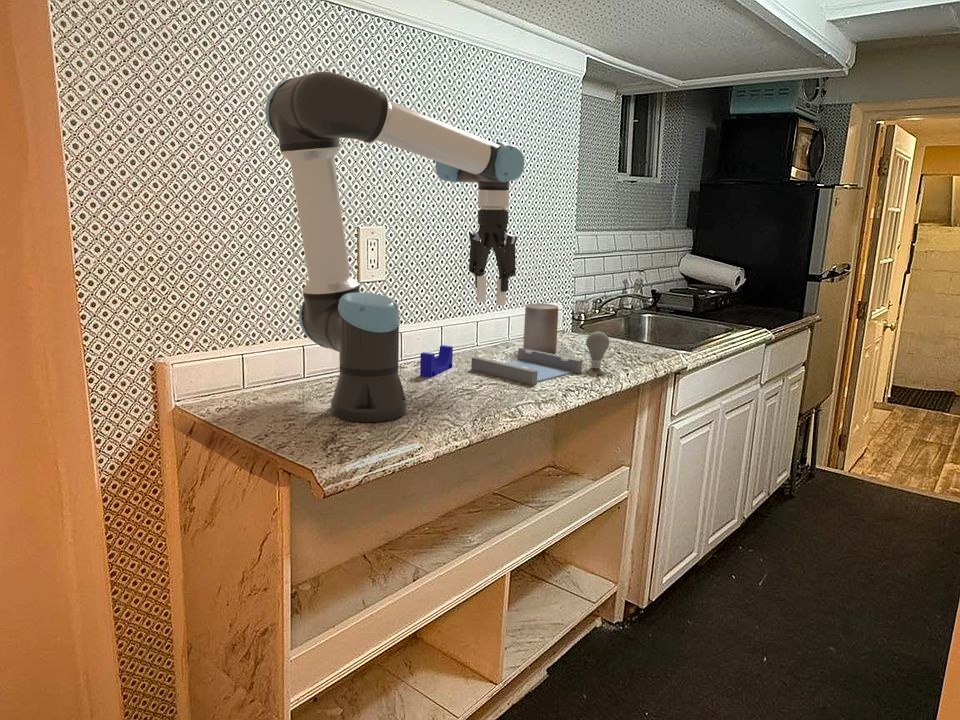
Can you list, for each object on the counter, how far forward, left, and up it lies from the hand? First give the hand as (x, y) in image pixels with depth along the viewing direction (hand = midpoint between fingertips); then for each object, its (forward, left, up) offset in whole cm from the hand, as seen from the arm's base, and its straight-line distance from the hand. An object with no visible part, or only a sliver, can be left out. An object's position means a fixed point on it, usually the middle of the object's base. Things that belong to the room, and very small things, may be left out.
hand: (490, 302), depth 171 cm
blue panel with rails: (+8, -6, -18) cm, 20 cm away
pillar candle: (+30, +7, -18) cm, 35 cm away
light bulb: (+25, -16, -18) cm, 35 cm away
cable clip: (-11, +8, -18) cm, 23 cm away
